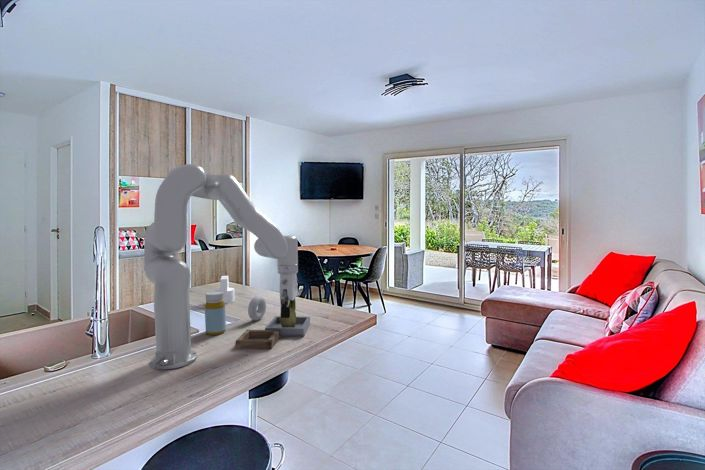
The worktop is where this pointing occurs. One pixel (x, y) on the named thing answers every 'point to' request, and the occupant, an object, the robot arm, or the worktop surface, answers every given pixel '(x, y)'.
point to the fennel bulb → (292, 319)
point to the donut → (252, 309)
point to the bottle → (215, 313)
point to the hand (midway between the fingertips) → (288, 313)
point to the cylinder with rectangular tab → (226, 290)
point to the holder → (258, 344)
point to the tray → (297, 331)
